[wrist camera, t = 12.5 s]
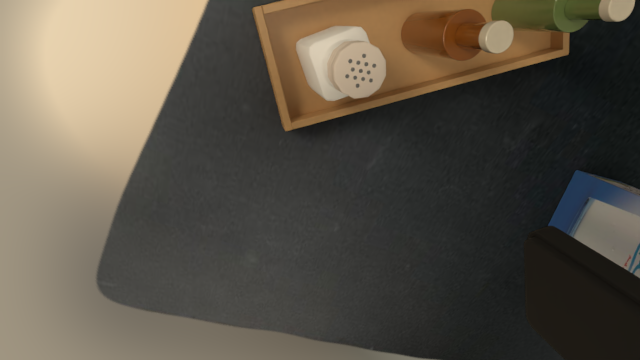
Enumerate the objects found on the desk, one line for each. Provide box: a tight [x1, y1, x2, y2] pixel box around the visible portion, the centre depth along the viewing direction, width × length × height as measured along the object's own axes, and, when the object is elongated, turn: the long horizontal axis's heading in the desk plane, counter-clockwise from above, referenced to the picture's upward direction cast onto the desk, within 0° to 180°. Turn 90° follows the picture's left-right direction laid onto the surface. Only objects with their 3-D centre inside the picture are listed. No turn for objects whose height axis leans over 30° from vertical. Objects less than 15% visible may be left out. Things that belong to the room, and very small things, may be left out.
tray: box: [252, 0, 569, 131], centre depth 32 cm, size 25×9×2 cm, turn 102°
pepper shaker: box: [296, 26, 386, 101], centre depth 27 cm, size 4×4×10 cm
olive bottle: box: [491, 0, 635, 33], centre depth 28 cm, size 3×3×11 cm
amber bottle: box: [401, 9, 514, 61], centre depth 28 cm, size 3×3×11 cm
